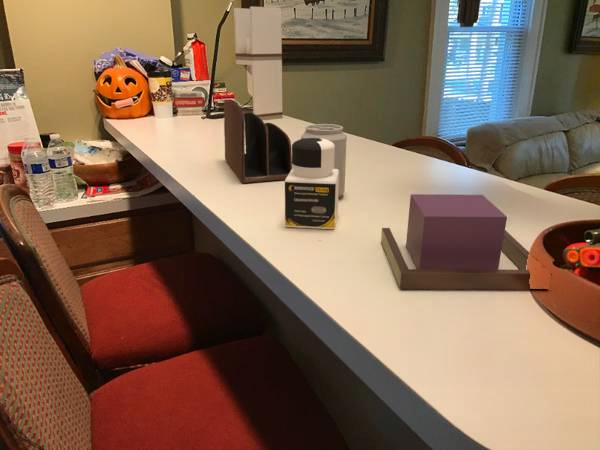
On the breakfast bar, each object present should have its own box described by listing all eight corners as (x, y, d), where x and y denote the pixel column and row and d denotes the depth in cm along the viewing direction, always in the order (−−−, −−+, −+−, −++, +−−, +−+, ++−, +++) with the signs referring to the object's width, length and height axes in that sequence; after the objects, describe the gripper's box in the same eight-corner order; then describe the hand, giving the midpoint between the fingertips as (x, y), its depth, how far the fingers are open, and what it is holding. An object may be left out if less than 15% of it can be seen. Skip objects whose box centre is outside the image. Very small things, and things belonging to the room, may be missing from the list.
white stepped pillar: (265, 114, 172) (262, 9, 159) (282, 117, 164) (281, 8, 152) (238, 117, 166) (233, 8, 153) (255, 121, 158) (251, 6, 145)
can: (345, 202, 78) (348, 129, 73) (300, 202, 78) (300, 129, 73) (343, 189, 85) (345, 122, 80) (301, 189, 85) (301, 122, 80)
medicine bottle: (284, 227, 67) (283, 144, 63) (292, 211, 74) (292, 134, 69) (334, 230, 66) (337, 145, 62) (337, 213, 73) (340, 135, 69)
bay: (501, 242, 62) (503, 228, 62) (548, 290, 50) (552, 273, 50) (381, 241, 63) (381, 227, 62) (399, 289, 50) (401, 273, 50)
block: (474, 245, 61) (482, 194, 59) (497, 273, 54) (507, 216, 51) (405, 245, 62) (410, 194, 59) (418, 273, 54) (424, 216, 52)
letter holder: (242, 184, 88) (238, 107, 83) (224, 160, 105) (221, 95, 100) (293, 179, 90) (292, 105, 85) (268, 157, 108) (266, 94, 103)
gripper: (443, -113, 63) (430, 26, 70) (541, -113, 63) (519, 26, 70) (429, -98, 70) (418, 27, 77) (517, -98, 70) (499, 27, 77)
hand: (466, 26), depth 73 cm, fingers closed
